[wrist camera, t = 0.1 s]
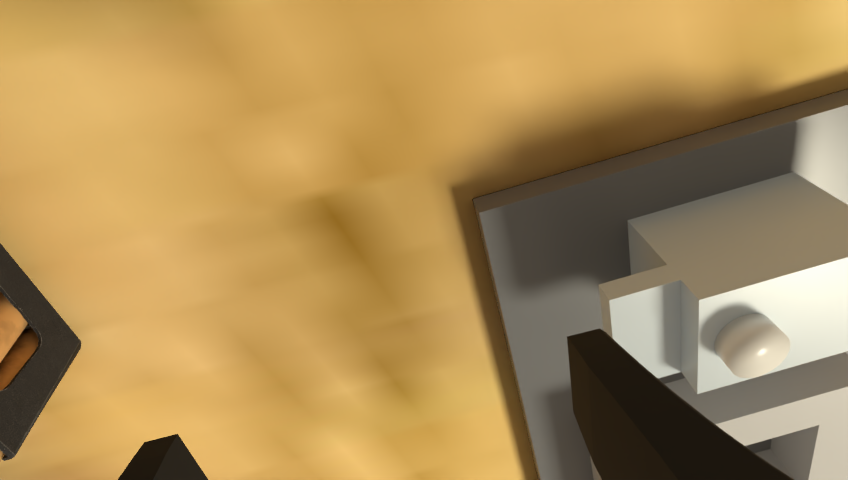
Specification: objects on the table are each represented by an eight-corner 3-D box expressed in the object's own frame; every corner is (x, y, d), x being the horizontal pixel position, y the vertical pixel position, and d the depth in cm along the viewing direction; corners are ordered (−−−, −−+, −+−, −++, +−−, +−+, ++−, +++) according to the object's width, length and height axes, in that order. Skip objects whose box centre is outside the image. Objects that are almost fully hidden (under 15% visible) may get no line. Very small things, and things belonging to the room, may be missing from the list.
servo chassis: (837, 432, 30) (891, 491, 27) (546, 515, 31) (570, 582, 28) (920, 67, 20) (1025, 99, 17) (472, 199, 20) (497, 253, 17)
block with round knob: (838, 245, 22) (970, 339, 17) (578, 321, 22) (642, 433, 18) (854, 153, 20) (1011, 232, 15) (566, 238, 20) (636, 340, 15)
